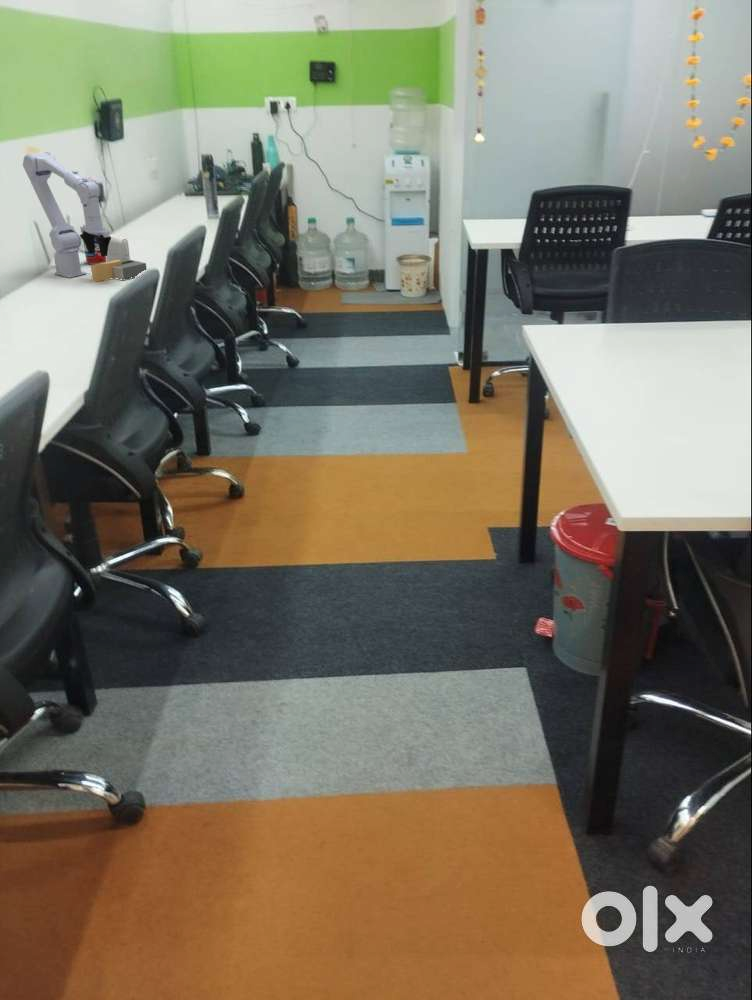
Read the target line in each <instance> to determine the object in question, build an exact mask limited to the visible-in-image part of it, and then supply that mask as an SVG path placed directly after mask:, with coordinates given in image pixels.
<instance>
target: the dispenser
mask: <svg viewBox="0 0 752 1000" xmlns="http://www.w3.org/2000/svg"><path fill="white" fill-rule="evenodd" d="M118 260H120V261H122V265H118V266H113V271H114V279H115V278H118V279H122V280H123V281H125V280H124V279H128V280H130V279H129V278H131V277H132V279H135V278H134V277H135V276H137V275H138V274H139V273H141V272H142V271H144V270H146V269H147V263H146V262H141V261H137V260H133V259H130V260H129V259H125V258H123V259H118ZM113 261H114V260H113ZM108 262H109V261H108ZM103 263H104V262H103ZM99 264H100V263H99ZM147 270H148V269H147ZM118 279H117V280H118ZM122 280H121V281H122Z"/></svg>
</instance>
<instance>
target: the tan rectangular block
mask: <svg viewBox="0 0 752 1000" xmlns="http://www.w3.org/2000/svg"><path fill="white" fill-rule="evenodd" d="M118 265H122V261H120V260H114V261H109V262H107V261H106V262H104V263H100V264H95V265H91V264H90V270H91V276H92V282H94V281H95V282H94V283H99V282H98V281H100V282H103V281H102V280H105V281H107V280H106V279H109V280H111V279H110V278H114V271H113V266H118ZM114 279H115V278H114Z"/></svg>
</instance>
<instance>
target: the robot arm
mask: <svg viewBox="0 0 752 1000" xmlns="http://www.w3.org/2000/svg"><path fill="white" fill-rule="evenodd" d="M22 166H23V169H24V170H25V173H26V175H27V178H28V179H29V182H30V184H31V187H32V188H33V190H34V191H35V194H36V196H37V199H38V201H39V203H40V204H41V207H42V209H43V211H44V213H45V215H46V217H47V219H48V222H49V223H50V225H51V230H50V232H49V234H48V235H49V237H50V241H51V245H52V247H53V249H54V251H55V252H54V254H53V259H54V264H55V270H56V272H54V275H58V276H62V277H65V278H73V277H77V276H83V275H86V274H87V272H85V271H82V269H81V262H80V261H81V260H80V256H79V254H80V253H79V251H80V247H81V246H82V242H83V241H84V243H85V245H86V247H87V250H88V252H89V254H92V253H95V245H94V240H95V239H96V241H97V243H98V245H99V249H100V253H101V256H102V257H104V256H107V253H108V246H109V242H110V240H111V236H109V235H110V232H109V230H106V229H105V227H103V223H102V222H103V221H102V215H101V208H100V203H99V202H100V200H99V197H100V196H101V194H102V193H101V192H102V191H101V190H102V189H101V186H100V184H99V183H98V182H97V181H96V180H95V179H94V180H92V179H91V180H88V178H87V177H86V176H85V177H84V176H82V175H81V174H80V173H79V172H78V171H77V170H76V169H73V170H72V169H71V170H69V169H68V168H66V167H65V166H64V165H63V164H61V163H60V162H58V161H57V160H56V157H55V155H53V154H51V153H50V152H48V151H47V152H46V151H45V152H40V153H30V154H29V153H27V154H25V155H24V157H23V161H22ZM52 174H55V175H56V176H58V177H59V178H61V179H63V181H64V183H65V185H66V186H68V187H70V188H71V190H73V191H75V192H76V194H77V196H78V198H79V200H80V204H81V205H82V210H83V217H84V223H85V224H84V225H86V227H85V226H84V227H83V226H80V233H81V234H79V233H78V232H77V230H76V228H75V227H74V226H73V225H71V224H69V223H68V222H67V221H66V219H65V217H64V214H63V213H62V211H61V208H60V207H59V205H58V201H57V200H56V198H55V196H54V194H53V192H52V189H51V188H50V186H49V184H48V180H49V179H50V177H51V175H52ZM82 233H83V234H82ZM95 235H99V236H100V237H95ZM84 243H83V244H84Z"/></svg>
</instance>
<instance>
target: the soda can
mask: <svg viewBox="0 0 752 1000" xmlns="http://www.w3.org/2000/svg"><path fill="white" fill-rule="evenodd" d="M84 226H85V227H86V224H83V225H82V227H84ZM81 234H83V233H81ZM95 237H100V236H99V235H95ZM82 242H83V248H84V255H85V260H86V261H85V262H86V263H87V264H89V265H90V266H91V265H95V264H99V263H103V262H107V257H106V256H104V257H102V256H101V253H100V249H99V245H98V243H97V241H96V239H95V240H94V245H95V253H92V254H89V252H88V250H87V247H86V245H85V243H84V241H83V240H82Z"/></svg>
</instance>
